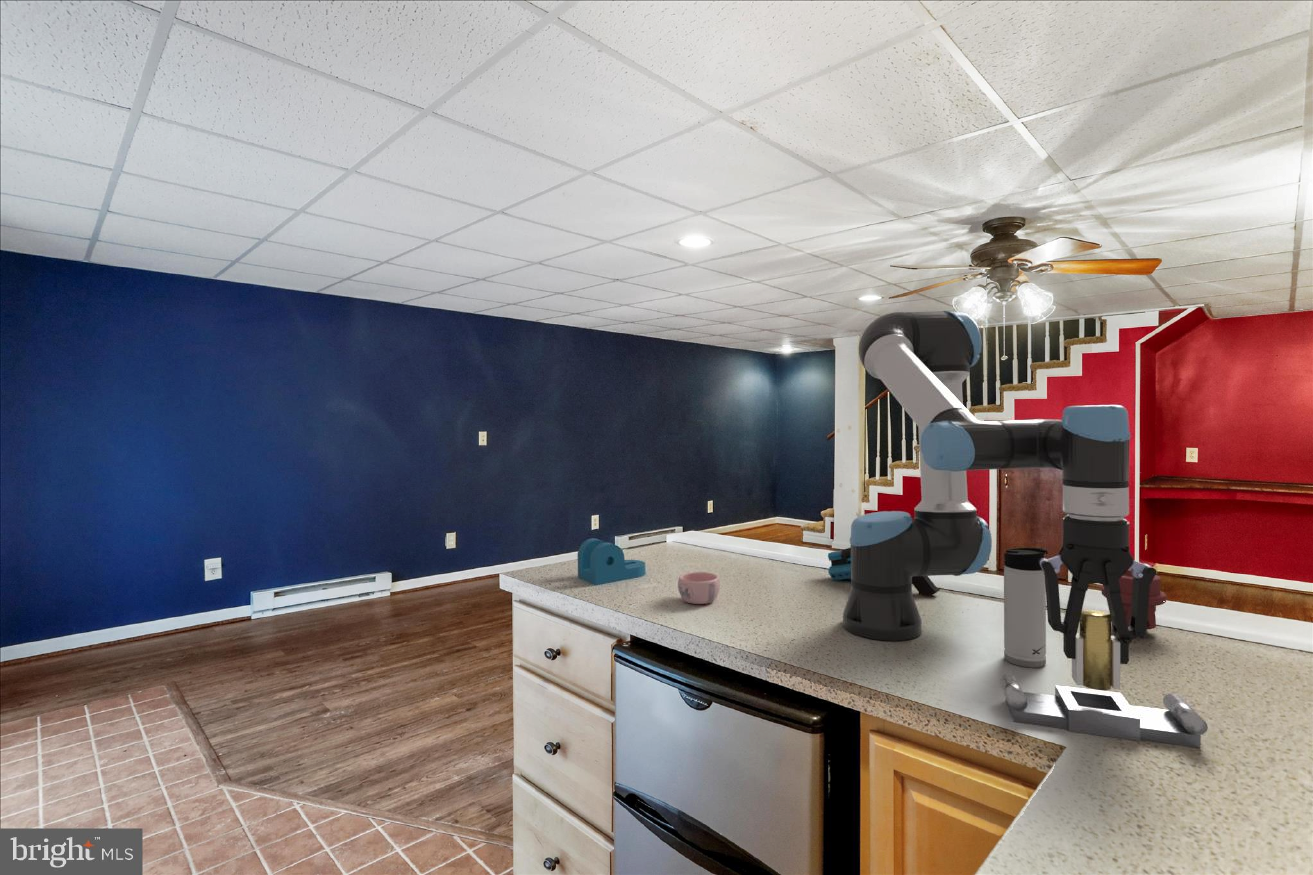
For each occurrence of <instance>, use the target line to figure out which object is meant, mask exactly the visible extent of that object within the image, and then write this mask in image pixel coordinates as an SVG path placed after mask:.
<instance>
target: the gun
mask: <svg viewBox="0 0 1313 875" xmlns="http://www.w3.org/2000/svg"><path fill="white" fill-rule="evenodd" d="M827 559H828V561H830V562H831V563H830V564H831V565H830V566H829V567H828V575H829V576H830V577H831V580H832V581H839V580H840V581H841V580H842V581H843V580H848V579H849V580H850V579H851V546H850V547H848V548H845V549H842V550H841V549H840V550H836V551H835V550H834V551H831V552H828V553H827ZM912 586H914V588H915V589H916V590H917V592H918V593H917V595H918V596H933V595H935V594H937V593H938V592H939V591H941V589H940V588H937V586H936V585H935V583H934V582H933V580H931V578H930V576H913V577H912Z"/></svg>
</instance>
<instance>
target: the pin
mask: <svg viewBox="0 0 1313 875" xmlns="http://www.w3.org/2000/svg"><path fill="white" fill-rule="evenodd" d="M1079 635H1080V636H1081V637H1082V638H1083V685H1082V686H1084V687H1086V688H1087V689H1091V690H1100V691H1111V689H1112V686H1111V636H1112V621H1111V615H1110V613H1108V612H1105V611H1100V610H1094V609H1093V610H1092V609H1082V612H1081V617H1080V621H1079Z"/></svg>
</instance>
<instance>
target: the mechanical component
mask: <svg viewBox="0 0 1313 875" xmlns="http://www.w3.org/2000/svg"><path fill="white" fill-rule="evenodd" d="M1133 578H1134V576H1133V575H1132V574H1131V567H1130V568H1129V569H1128V570H1127V571H1126V573H1125V574H1124V575H1123V576H1122V577H1121V578H1120V579H1119V585H1120V589H1121V592H1120V594H1121V598H1122V603H1123V608H1124V612H1125V617H1126V621H1127V626H1128V627H1129V625H1130V612H1131V599H1132V585H1133ZM1161 579H1162V578H1161V576H1159V575H1158V574H1156V575H1155V577H1154V579H1153V581H1152V582H1151V584H1150V593H1149V606H1148V619H1147V630H1149V631H1150V630H1153V629H1155V628H1156V627H1157V622H1156V620H1157V618H1156V612H1157V606H1161V605H1164V604H1165V603H1166V602H1167V595H1166V593H1165V592H1164V591H1163V590H1161V589H1162V588H1161ZM1101 595H1102V596H1103V597H1104V598H1106V594H1105V589H1104V587H1103V585H1102V586H1101ZM1163 601H1165V602H1163ZM1111 629H1113V626H1112V625H1111Z"/></svg>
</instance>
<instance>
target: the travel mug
mask: <svg viewBox="0 0 1313 875" xmlns="http://www.w3.org/2000/svg"><path fill="white" fill-rule="evenodd" d="M1003 554H1004V555H1003V558H1004V559H1003V560H1004V561H1003V639H1004V640H1003V645H1004V646H1003V647H1004V649H1003V653H1004V654H1003V655H1004V656H1003V657H1004V659H1005V661H1007V662H1009V663H1010V664H1012V665H1015V666H1018V667H1022V668H1028V669H1029V668H1031V669H1036V668H1042V667H1044V666H1045V665H1046V664H1047V655H1046V654H1047V617H1046V616H1047V602H1046V589H1045V575H1044V572H1043V570H1042V568H1041V566H1040V564H1039V560H1040V559H1041V558H1045V555H1049V550H1048V549H1047V548H1045V547H1040V548H1039V547H1015V548H1008V549H1007V550H1005V551H1004V552H1003Z"/></svg>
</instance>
